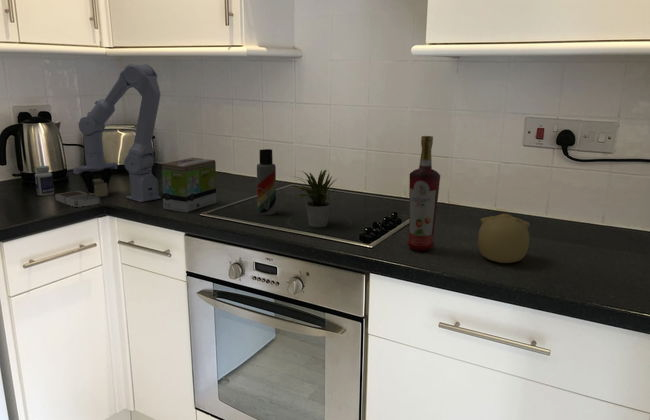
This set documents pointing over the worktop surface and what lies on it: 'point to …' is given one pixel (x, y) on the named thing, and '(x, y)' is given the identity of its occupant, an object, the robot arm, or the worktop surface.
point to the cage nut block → (99, 188)
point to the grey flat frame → (77, 199)
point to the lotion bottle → (266, 183)
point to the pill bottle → (44, 181)
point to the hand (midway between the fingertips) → (98, 191)
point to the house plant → (317, 199)
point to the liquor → (423, 200)
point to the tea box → (189, 184)
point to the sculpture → (503, 238)
